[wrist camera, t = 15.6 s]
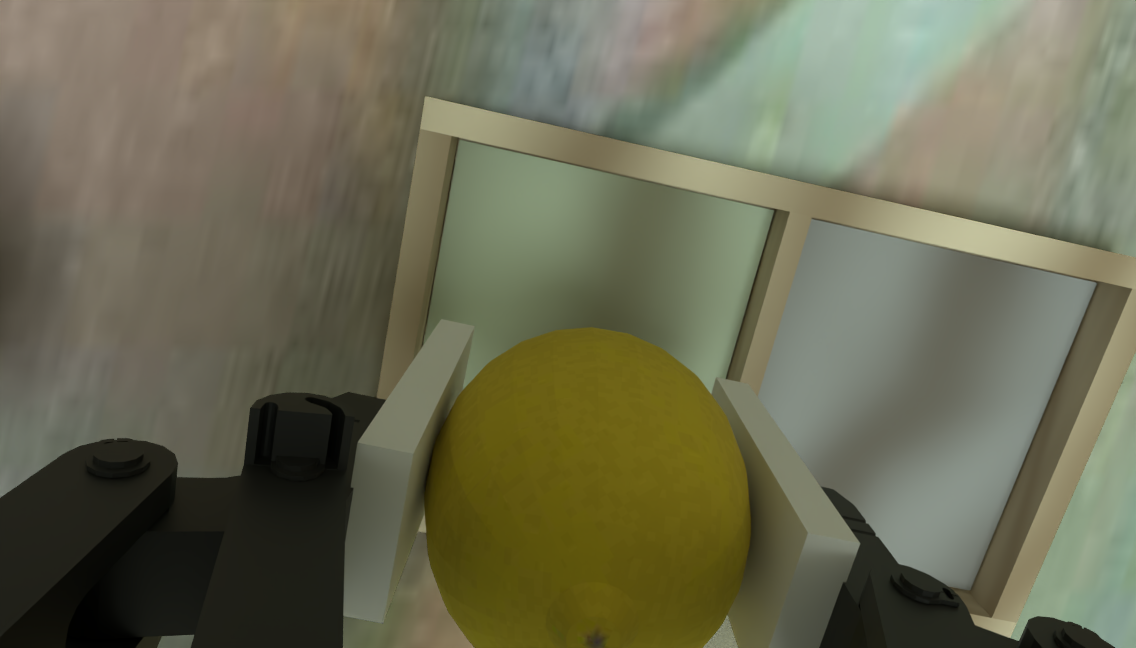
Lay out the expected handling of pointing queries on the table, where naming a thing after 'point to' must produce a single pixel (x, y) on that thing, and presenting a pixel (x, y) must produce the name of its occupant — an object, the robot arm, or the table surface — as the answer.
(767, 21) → the table surface
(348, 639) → the table surface
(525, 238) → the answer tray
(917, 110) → the table surface
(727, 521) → the lemon
